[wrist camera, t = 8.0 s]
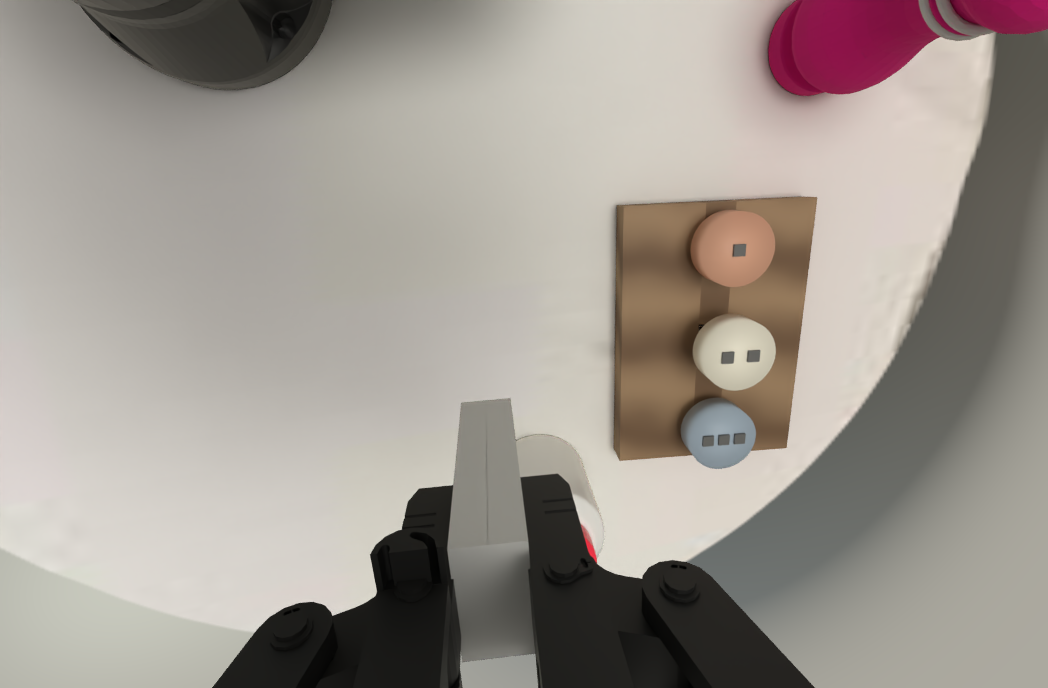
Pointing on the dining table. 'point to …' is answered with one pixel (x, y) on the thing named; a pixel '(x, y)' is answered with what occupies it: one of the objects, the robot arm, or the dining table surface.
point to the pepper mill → (880, 37)
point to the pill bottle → (564, 460)
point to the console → (700, 321)
